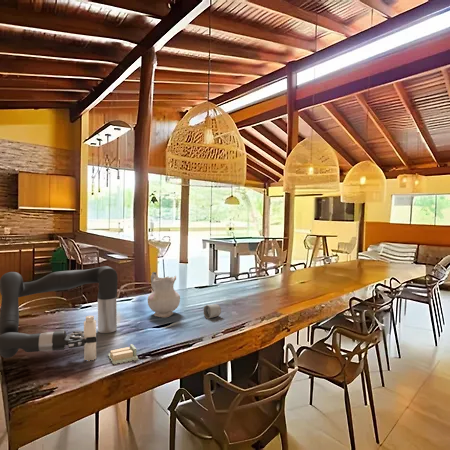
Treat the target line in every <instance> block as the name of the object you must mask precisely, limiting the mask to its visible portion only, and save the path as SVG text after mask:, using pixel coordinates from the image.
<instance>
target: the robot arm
mask: <svg viewBox="0 0 450 450" xmlns="http://www.w3.org/2000/svg"><path fill="white" fill-rule="evenodd" d="M87 284H98V292H97V331H96V337H87V338H86V337H84V330H73V331H72V333H69V334H67V332H66V330H58V331H57V330H55V331H46V332H42V333H40V332H39V333H24V332H19V322H20V312H19V311H20V310H19V298H21V297H22V298H23V297H26V296H32V295H35V294H36V295H37V294H42V293H48V292H57V291H66V290H71V289H75V288H77V287H80V286H83V285H87ZM117 293H118V273H117V270H116V269H114V268H113V267H111V266H108V265H101V266H100V267H99V266H98V267H94V268H89V269H74V270H73V269H72V270H61V271H54V272H50V273H47V275H45V276H43V277H41V278H39V279H37V280H33V281H26V282H24V278H23V276H22V274H20V273H19V272H16V271H9V272H5V273H4V274H2V275H1V277H0V295H1V302H0V303H1V305H0V356H1V357H2V358H5V359H10V358H12V357H14V356H16V354H17V353H18V352H19V349H20V350H22V351H24V352H26V353H35V352H53V351H54V352H55V351H64V350H65V349H66V348H67V346H68V349H73V348H80V347H84V344H87V343H94V342H96V343H97V342H98V341H97V340H98V339H97V338H98V333H99V334H100V333H101V334H110V333H114V332H116V331H117V330H118V328H117V327H118V326H117V325H118V323H117V321H118V320H117V319H118V316H117V315H118V313H117V309H118V308H117V306H118V305H117Z"/></svg>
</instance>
